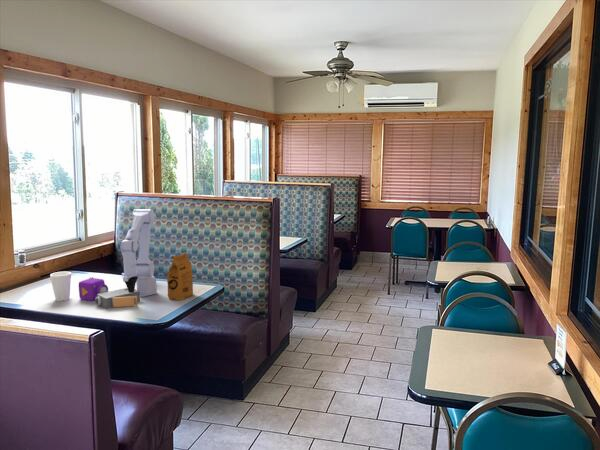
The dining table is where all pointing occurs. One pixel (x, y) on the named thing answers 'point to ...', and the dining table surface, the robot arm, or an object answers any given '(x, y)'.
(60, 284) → the foam cup
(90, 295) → the toy camera
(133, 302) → the door
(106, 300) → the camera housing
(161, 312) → the dining table surface
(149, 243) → the robot arm
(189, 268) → the coffee package
